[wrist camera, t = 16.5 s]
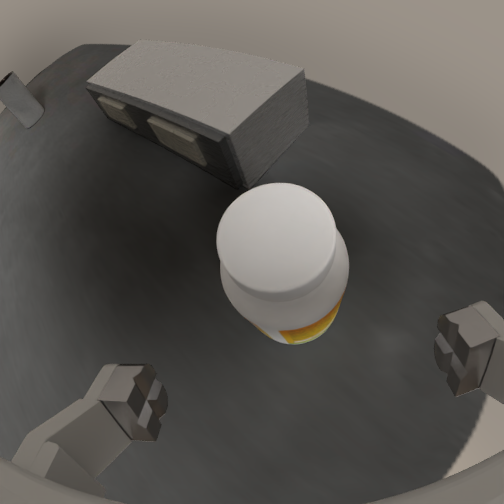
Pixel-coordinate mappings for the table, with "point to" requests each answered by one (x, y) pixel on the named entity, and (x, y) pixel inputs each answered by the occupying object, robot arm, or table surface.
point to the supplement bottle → (283, 261)
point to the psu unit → (206, 105)
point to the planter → (20, 100)
